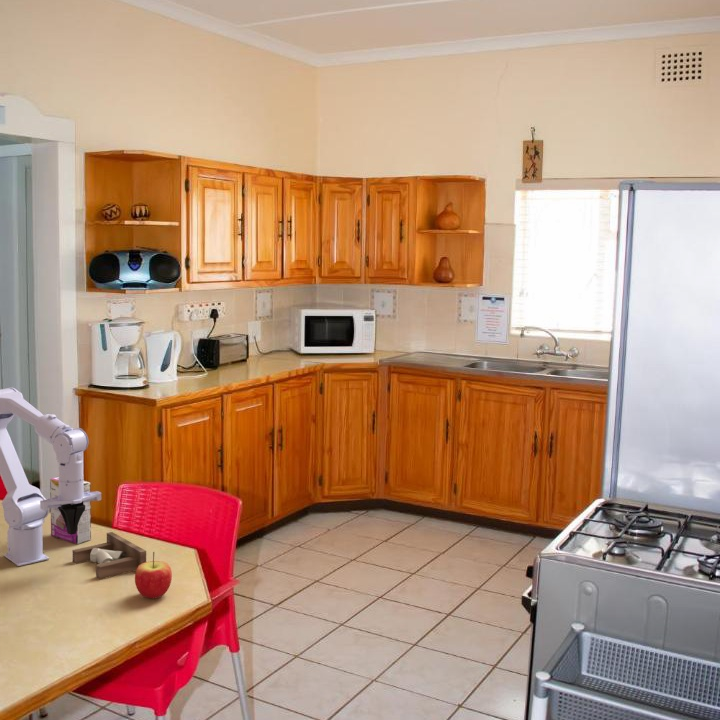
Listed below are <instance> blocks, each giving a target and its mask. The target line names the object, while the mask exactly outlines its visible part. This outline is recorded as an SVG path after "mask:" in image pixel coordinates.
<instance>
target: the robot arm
mask: <svg viewBox="0 0 720 720" xmlns="http://www.w3.org/2000/svg"><path fill="white" fill-rule="evenodd" d="M14 416H15V417H17V418H20V420H23V421H25V422H27V423H28V424H29V425H32V426H33V427H34V432H35V434H36V435H38V436H39V437H40V438H42V439H44V440H45V441H46V442H47V443H49V444H51V446H52V448H53V451H54V452H55V454H56V460H57V462H58V477H59V496H57V497H53V498H48V499H47V498H46V497H45V496H44V495H43V494H42V492H41V489H40V488H38V487H36V486H34V485H32V484H30V483H29V480H28V478H27V475H26V473H25V470H24V467H23V465H22V464H21V463H22V462H21V460H20V458H19V456H18V453H17V451H16V449H15V446H14V443H13V442H12V439H11V436H10V433H9V432H8V430H7V427H8V424H9V423H10V422H11V421H12V420H13V418H14ZM89 441H90V440H89V437H88V434H87V433H86V431H84V429H83V428H80V427H76V428H74V427H71V425H69V424H67V423H64V422H63V421H61V420H60V419H59V418H57V415H56V414H54V413H51V414H50V413H47V414H43V413H42V412H41V411H39V410H38V409H37V407H34V406H33V405H32V404H30V402H28V401H27V400H26V399H25V398H24V396H23V393H22V392H20V391H18V389H16V388H15V387H11V386H10V387H7V388H6V387H5V388H1V389H0V477H1V480H2V482H3V485H4V488H5V489H6V492H7V493H6V495H5V497H4V498H3V499H2V502H1V505H2V509H3V516H4V520H5V522H6V524H7V525H8V526H9V527H8V529H7V536H6V537H7V538H6V539H7V553H3V557H5V558H7V559H8V560H9V561H11V562H12V563H13V564H14V565H16V566H17V567H21V566H25V565H29V564H34V563H39V562H42V561H43V562H44V561H47V560H48V561H49V559H50V557H49V556H47V555H46V554H44V553H43V551H44V550H43V549H44V548H43V540H44V539H43V524H44V523H45V522H46V521H45V519H46V518H47V517H48V515H49V513H50V510H51V508H56V507H58V509H59V511H60V513H61V515H62V517H63V519H64V522H65V525H66V528H67V533H68V534H70V535H72V534H76V530H77V526H78V523H79V520H80V518H81V516H82V514H83V512H84V510H85V505H84V504H83V503H84V502H90V501H91V502H94V501H97V502H99V501H101V500H102V492H101V491H97V490H96V491H90V492H84V481H85V480H84V452H85V451H86V450H87V449H88V446H89Z"/></svg>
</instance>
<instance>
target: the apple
mask: <svg viewBox="0 0 720 720" xmlns="http://www.w3.org/2000/svg"><path fill="white" fill-rule="evenodd" d="M172 572H173V571H172V568H171V566H170V565H169V564H168V563H167V562H164V561H159V560H155V551H153V552H152V560H151V561H150V560H149V561H146V562H145V563H142V564H140V565H139V566H138V568H137V570H135V574H134V583H135V586H136V587H135V588H136V589H137V591H138V593H139V595H141V596H142V597H144V598H147V599H157V598H160V597H163V596H164V595H166V593H167V592H168V590H169V588H170V586H171V585H172V577H173V575H172V574H173V573H172Z"/></svg>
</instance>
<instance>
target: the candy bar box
mask: <svg viewBox="0 0 720 720" xmlns="http://www.w3.org/2000/svg"><path fill="white" fill-rule="evenodd" d="M49 483H50V485H49V487H50V488H49V491H50V498H53V497H57V496H59V476H56V477H51V478H50V479H49ZM84 492H91V482H89V481H87V480H84ZM50 498H49V499H50ZM91 502H92V501H90V502H84V503H83V504H84V505H85V510H84V512H83V514H82V516H81V518H80V520H79V523H78V526H77V530H76V534H72V535H70V534H68V533H67V528H66V525H65V522H64V519H63V517H62V515H61V513H60V511H59V509H58V507H56V508H50V536H51V537H54V538H57V539H59V540H63V541H65V542H69V543H73V544H75V545H81V544H84V543H86V542H89V541H91V540H92V521H91V520H92V519H91V518H92V516H91V515H92V514H91V510H92V509H91V508H92V507H91V506H92V505H91Z"/></svg>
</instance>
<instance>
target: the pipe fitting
mask: <svg viewBox="0 0 720 720" xmlns="http://www.w3.org/2000/svg"><path fill="white" fill-rule="evenodd" d="M125 557H126V556H125V552H122V551H112V550H104V549H99V548H93V549H92V551H91V553H90V561H89V562H92V563H98V564H102V563H107V562H111V561H115V560H119V559H123V558H125Z"/></svg>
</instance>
